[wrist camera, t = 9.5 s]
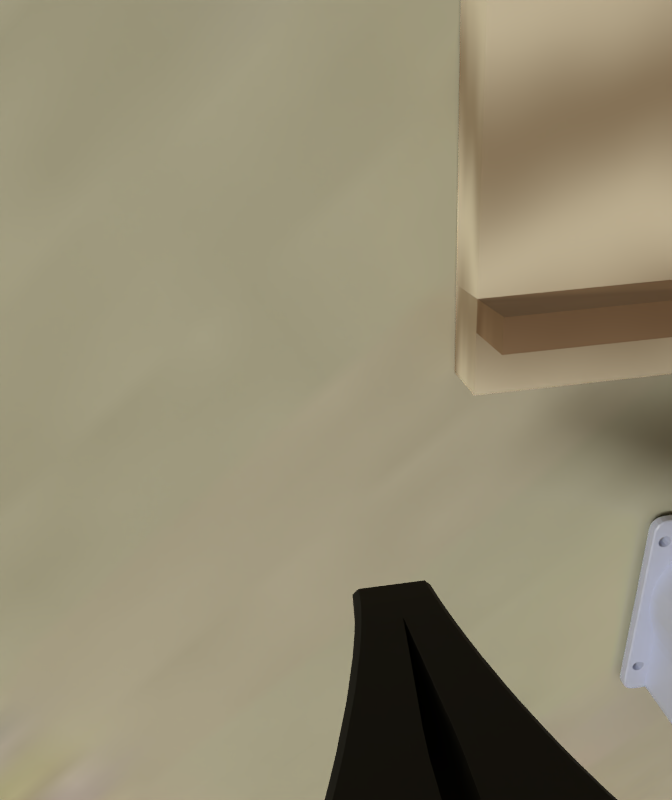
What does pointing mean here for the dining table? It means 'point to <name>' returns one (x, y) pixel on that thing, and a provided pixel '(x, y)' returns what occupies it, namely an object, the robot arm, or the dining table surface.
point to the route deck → (564, 193)
